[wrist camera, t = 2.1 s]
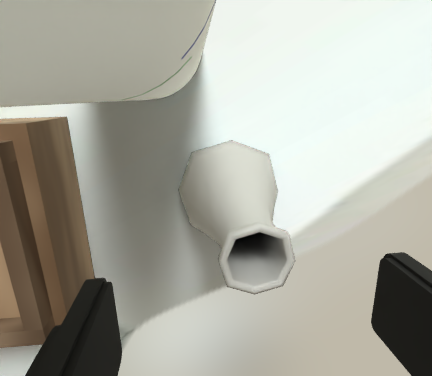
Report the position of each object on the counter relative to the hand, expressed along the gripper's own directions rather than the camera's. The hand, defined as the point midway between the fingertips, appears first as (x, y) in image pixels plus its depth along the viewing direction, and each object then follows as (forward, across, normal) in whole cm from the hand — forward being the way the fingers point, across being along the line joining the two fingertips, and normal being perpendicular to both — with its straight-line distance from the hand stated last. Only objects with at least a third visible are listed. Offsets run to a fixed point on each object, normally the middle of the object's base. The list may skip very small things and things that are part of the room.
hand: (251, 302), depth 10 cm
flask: (+12, -1, 0) cm, 12 cm away
